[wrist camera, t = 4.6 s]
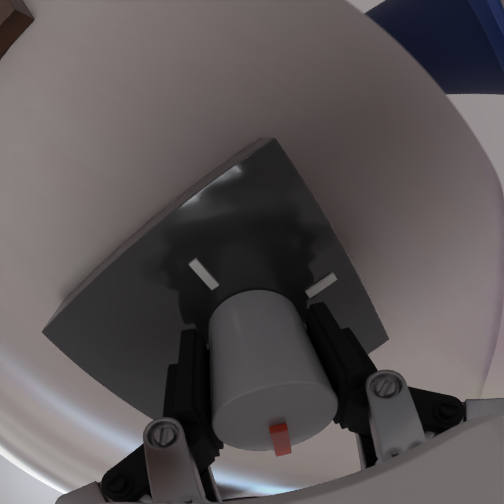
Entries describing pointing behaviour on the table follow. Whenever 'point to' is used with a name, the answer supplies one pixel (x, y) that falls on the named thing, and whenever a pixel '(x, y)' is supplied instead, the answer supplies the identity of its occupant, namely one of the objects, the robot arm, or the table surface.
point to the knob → (265, 375)
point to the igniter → (12, 22)
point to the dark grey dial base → (208, 274)
